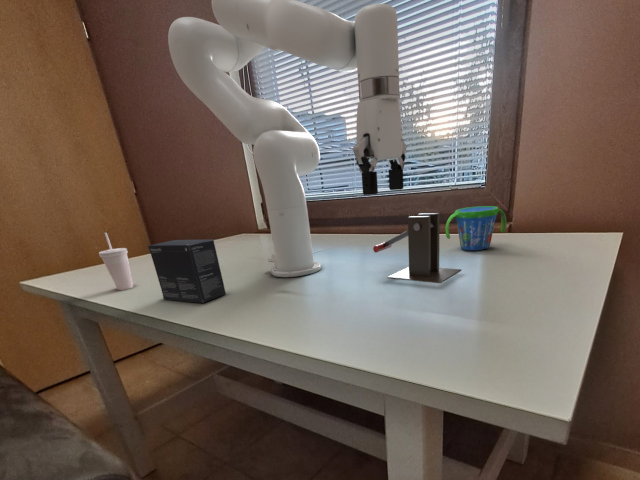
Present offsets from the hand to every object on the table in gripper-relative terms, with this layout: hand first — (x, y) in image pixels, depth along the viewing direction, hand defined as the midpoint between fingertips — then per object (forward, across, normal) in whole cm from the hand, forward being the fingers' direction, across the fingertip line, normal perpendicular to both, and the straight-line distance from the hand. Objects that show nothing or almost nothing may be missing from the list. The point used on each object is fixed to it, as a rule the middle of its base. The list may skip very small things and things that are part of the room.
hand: (383, 191), depth 77 cm
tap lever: (+10, 0, +5) cm, 11 cm away
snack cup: (+18, -31, +8) cm, 37 cm away
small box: (+18, +29, -32) cm, 47 cm away
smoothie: (+18, +32, -60) cm, 70 cm away
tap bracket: (+18, 0, +9) cm, 20 cm away
